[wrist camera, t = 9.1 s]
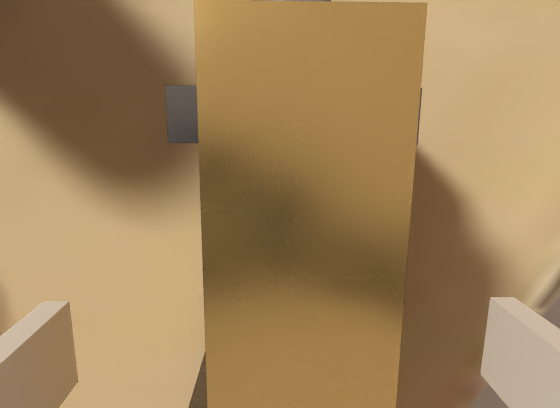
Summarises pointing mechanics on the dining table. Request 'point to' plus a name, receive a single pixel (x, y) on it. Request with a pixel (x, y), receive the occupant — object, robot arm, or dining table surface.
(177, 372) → the dining table surface
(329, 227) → the link bar
